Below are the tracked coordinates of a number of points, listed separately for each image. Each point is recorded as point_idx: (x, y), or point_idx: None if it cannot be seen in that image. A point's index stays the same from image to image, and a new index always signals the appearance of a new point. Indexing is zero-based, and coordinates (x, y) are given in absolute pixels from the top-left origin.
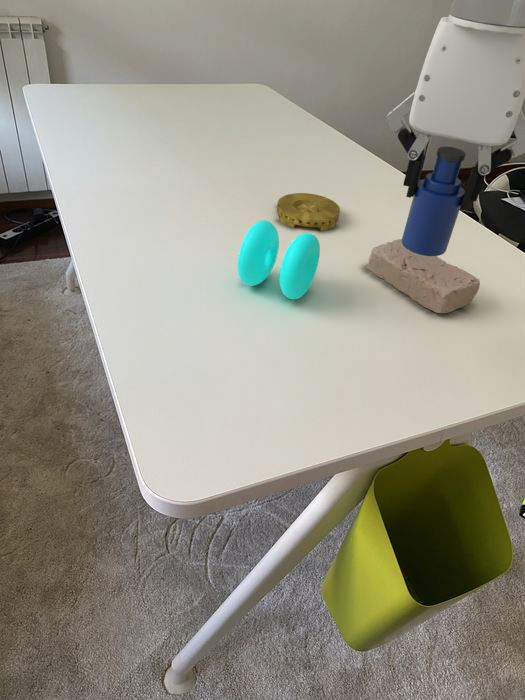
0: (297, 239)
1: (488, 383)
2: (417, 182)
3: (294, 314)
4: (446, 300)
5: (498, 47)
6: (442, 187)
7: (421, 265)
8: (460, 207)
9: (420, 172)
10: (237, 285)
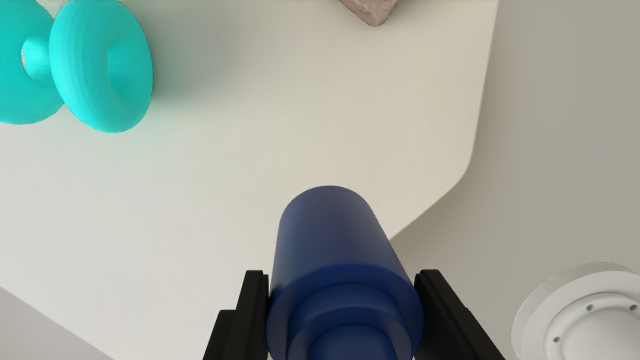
0: (58, 81)
1: (435, 157)
2: (265, 340)
3: (163, 124)
4: (382, 22)
5: None
6: None
7: None
8: None
9: (261, 356)
10: None
